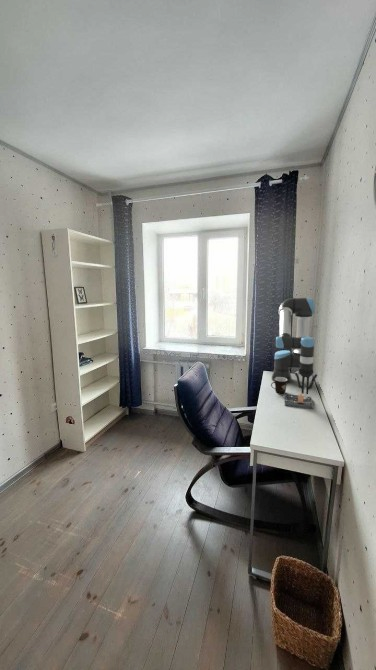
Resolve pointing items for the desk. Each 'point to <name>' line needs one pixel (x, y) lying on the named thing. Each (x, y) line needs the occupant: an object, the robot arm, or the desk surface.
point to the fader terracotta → (300, 398)
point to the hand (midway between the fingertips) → (304, 398)
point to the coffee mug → (280, 385)
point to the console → (293, 401)
